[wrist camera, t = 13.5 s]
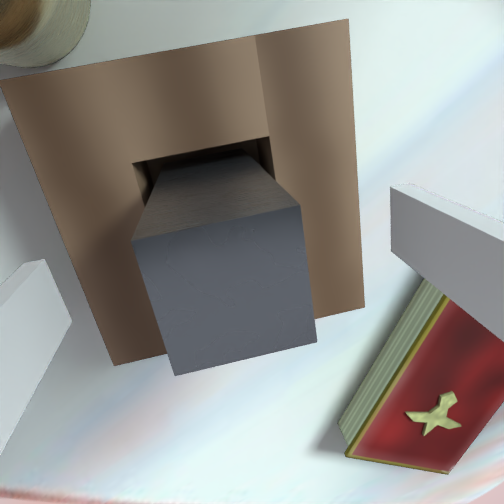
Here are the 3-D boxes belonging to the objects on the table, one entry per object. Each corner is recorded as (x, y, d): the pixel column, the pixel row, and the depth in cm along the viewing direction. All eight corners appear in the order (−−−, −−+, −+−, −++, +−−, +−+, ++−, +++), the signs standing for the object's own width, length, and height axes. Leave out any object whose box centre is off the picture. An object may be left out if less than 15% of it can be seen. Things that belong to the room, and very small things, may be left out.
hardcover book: (548, 270, 33) (595, 293, 29) (427, 440, 39) (453, 477, 36) (444, 228, 30) (481, 247, 26) (330, 421, 36) (347, 459, 32)
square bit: (241, 147, 24) (300, 204, 11) (254, 221, 26) (317, 342, 13) (164, 163, 23) (130, 241, 11) (183, 236, 25) (174, 376, 13)
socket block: (311, 37, 23) (348, 18, 17) (332, 268, 29) (365, 307, 24) (46, 85, 22) (-3, 80, 16) (129, 313, 28) (114, 366, 23)
